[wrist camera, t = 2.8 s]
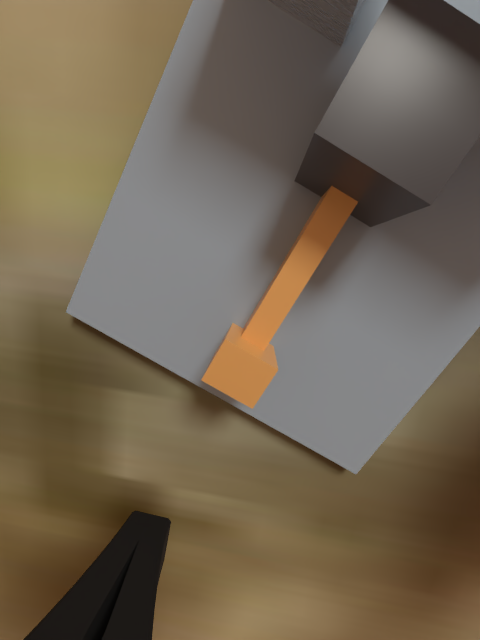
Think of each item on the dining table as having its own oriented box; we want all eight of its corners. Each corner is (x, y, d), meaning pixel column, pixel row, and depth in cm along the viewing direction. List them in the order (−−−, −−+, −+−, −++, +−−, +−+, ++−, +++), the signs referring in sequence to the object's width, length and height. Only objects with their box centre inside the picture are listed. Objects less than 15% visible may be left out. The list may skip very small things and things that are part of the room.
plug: (266, 384, 13) (270, 434, 9) (200, 347, 13) (175, 381, 9) (428, 138, 10) (532, 59, 6) (347, 87, 10) (403, -27, 6)
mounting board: (350, 463, 15) (355, 474, 14) (76, 309, 14) (65, 312, 13) (1255, -643, 6) (1395, -771, 6) (695, -1168, 6) (765, -1402, 5)
